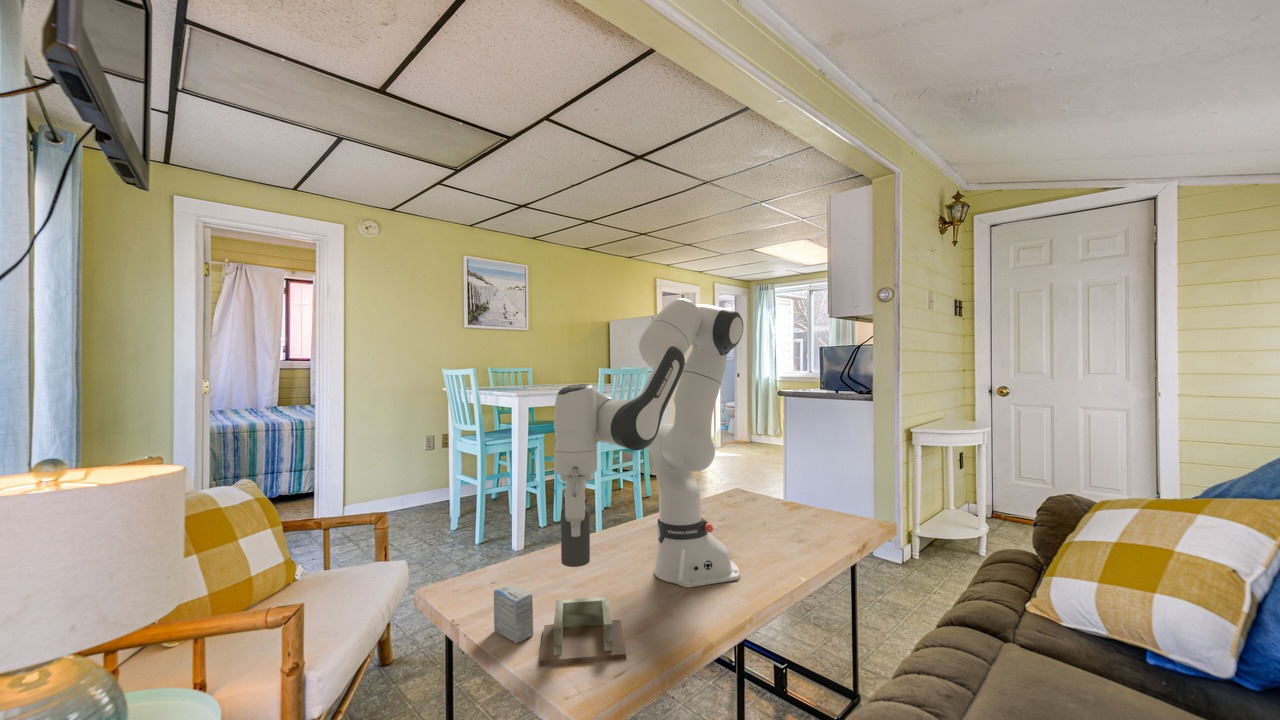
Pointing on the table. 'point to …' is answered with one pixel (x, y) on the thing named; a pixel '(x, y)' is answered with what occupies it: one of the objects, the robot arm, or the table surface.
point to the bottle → (575, 540)
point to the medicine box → (513, 613)
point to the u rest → (582, 633)
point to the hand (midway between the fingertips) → (576, 530)
